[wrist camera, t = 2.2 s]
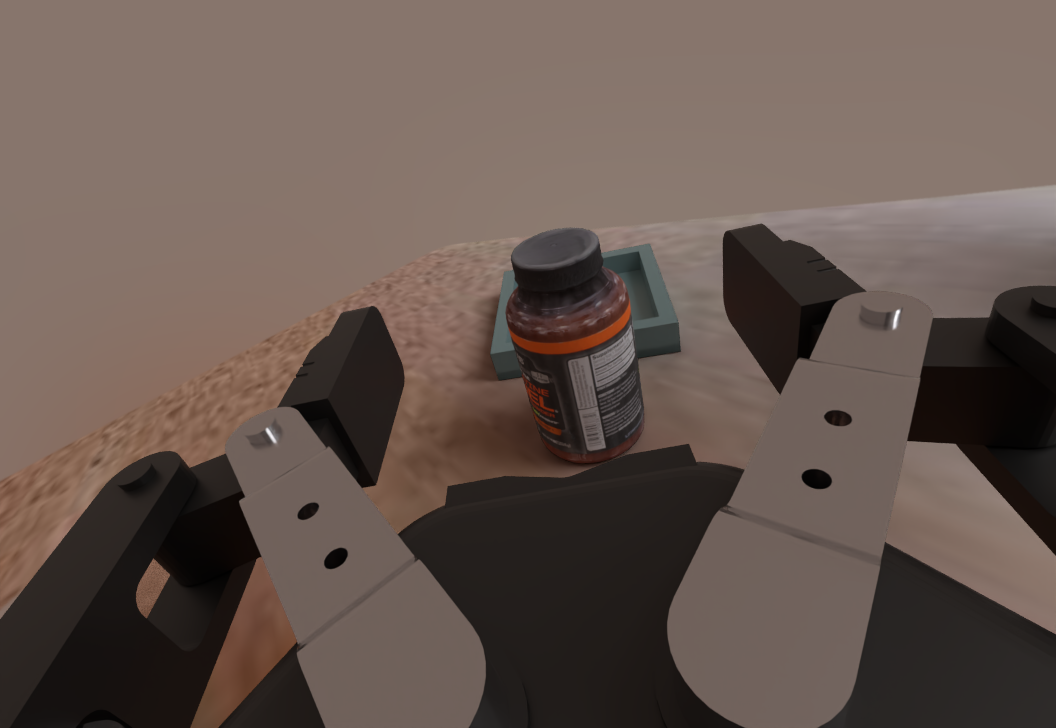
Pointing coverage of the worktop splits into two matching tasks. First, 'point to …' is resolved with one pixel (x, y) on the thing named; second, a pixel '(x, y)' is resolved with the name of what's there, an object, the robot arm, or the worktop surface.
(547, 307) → the supplement bottle
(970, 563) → the worktop surface
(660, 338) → the tray
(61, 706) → the robot arm
